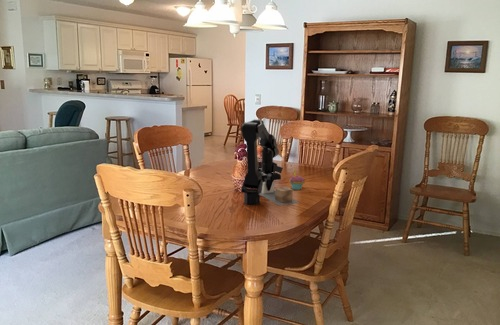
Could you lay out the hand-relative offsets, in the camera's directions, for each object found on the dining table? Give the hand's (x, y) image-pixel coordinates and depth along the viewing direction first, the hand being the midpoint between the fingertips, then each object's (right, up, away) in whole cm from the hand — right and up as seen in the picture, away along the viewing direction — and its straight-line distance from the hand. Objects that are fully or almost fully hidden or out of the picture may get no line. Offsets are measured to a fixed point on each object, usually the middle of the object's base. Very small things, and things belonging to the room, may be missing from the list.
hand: (266, 189), depth 219 cm
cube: (+8, -5, -15) cm, 17 cm away
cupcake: (+17, 0, +11) cm, 20 cm away
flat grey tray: (+5, -4, -8) cm, 10 cm away
